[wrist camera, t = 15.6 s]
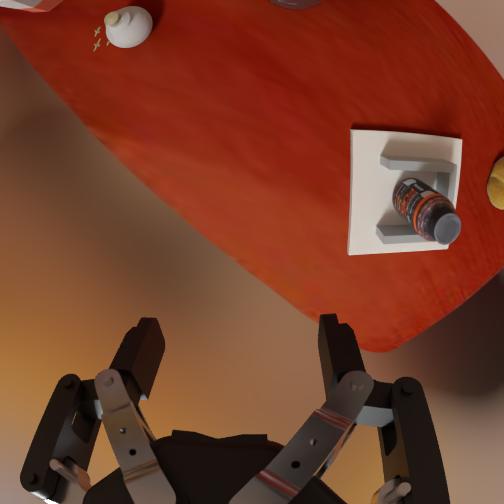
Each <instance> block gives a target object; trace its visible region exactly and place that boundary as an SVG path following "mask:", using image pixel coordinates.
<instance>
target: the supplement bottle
mask: <svg viewBox="0 0 504 504" xmlns="http://www.w3.org/2000/svg"><path fill="white" fill-rule="evenodd" d="M392 202H393V206H394V209H395V210H396V212H397V213H398V214H399V215H400V216H401V217H402V218H403V219H404V220H405V221H406V222H407V223H408V224H409V225H410V226H411V227H412V228H413V229H414V230H415V231H416V232H417V233H418V234H419V235H420V236H421V237H422V238H423V239H425V240H427V241H430V242H436V241H437V242H438V243H439V244H442V245H447V244H450V243H452V242H453V241H454V240H455V239H456V238H457V237H458V235H459V233H460V229H461V221H460V218H459V217H458V215H457V214H456V211H455V208H454V206H453V204H452V202H451V201H450V200H449V199H448V198H446V197H445V196H444V195H442V194H441V193H439V192H438V191H436V190H435V189H433V188H432V187H430V186H428V185H427V184H425V183H424V182H422V181H420V180H418V179H416V178H407V179H404V180H403V181H401V182H400V183H399V184H398V185H397V186H396V188H395V190H394V192H393V197H392Z"/></svg>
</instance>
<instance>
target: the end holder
mask: <svg viewBox="0 0 504 504" xmlns="http://www.w3.org/2000/svg"><path fill="white" fill-rule="evenodd" d="M350 134H351V183H350V214H349V233H348V248H347V253H348V255H359V254H376V253H392V252H409V251H424V250H440V249H448V246H449V244H447V245H442V244H439V243H438V242H437V241H436V242H430V241H427V240H425V239H423V238H422V237H421V236H420V235H419V234H418V233H417V232H416V231H415V230H414V229H413V228H412V227H411V226H410V225H409V224H408V223H407V222H406V221H405V220H404V219H403V218H402V217H401V216H400V215H399V214H398V213H397V212H396V210H395V209H394V206H393V202H392V197H393V192H394V190H395V188H396V186H397V185H398V184H399V183H400V182H401V181H403V180H404V179H407V178H416V179H418V180H420V181H422V182H424V183H425V184H427V185H428V186H430V187H432V188H433V189H435V190H436V191H438V192H439V193H441V194H442V195H444V196H445V197H446V198H448V199H449V200H450V201H451V202H452V204H453V206H454V208H456V201H457V194H458V186H459V176H460V166H461V152H462V139H458V138H451V137H444V136H436V135H428V134H418V133H407V132H395V131H379V130H355V129H350Z"/></svg>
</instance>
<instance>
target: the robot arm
mask: <svg viewBox="0 0 504 504" xmlns="http://www.w3.org/2000/svg"><path fill="white" fill-rule="evenodd" d="M269 1H271V2H272V3H274V4H276V5H278V6H281V7H284V8H289V9H306V8H310V7H313V6H315V5H317V4H319V3H320V2H321V1H322V0H269ZM318 349H319V356H320V361H321V368H322V374H323V381H324V387H325V393H326V402H325V403H324V404H323V406H322V407H321V408H320V409H319V410H318V409H317V410H315V411H314V412H313V413H312V415H311V416H310V417H309V418H308V419H307V421H306V422H305V423H304V425H303V426H302V427H301V428H300V429H299V430H298V432H297V433H296V434H295V435H294V437H293V438H292V439H291V440H290V441H289V442H288V444H287V445H286V446H283V445H281V444H279V443H277V442H273V441H269V440H268V439H267V434H256V435H255V434H254V435H253V434H251V435H250V434H243V435H237V436H232V437H226V438H220V439H217V438H213V437H209V436H206V435H203V434H200V433H197V432H190V431H180V430H173V431H172V435H171V436H167V437H163V438H160V439H156V438H155V436H154V435H153V433H152V431H151V429H150V427H149V425H148V423H147V421H146V419H145V417H144V415H143V413H142V411H141V409H140V407H139V405H138V403H139V400H140V399H141V400H148V398H149V395H150V392H151V389H152V386H153V383H154V380H155V377H156V374H157V371H158V368H159V365H160V362H161V359H162V357H163V353H164V351H165V340H164V337H163V334H162V331H161V328H160V325H159V322H158V320H157V318H145V317H144V318H143V317H142V318H141V319H140V321H139V323H138V325H137V327H132V328H131V329H130V330H129V331H128V332H127V333H126V335H125V337H124V339H123V342H122V343H121V345H120V348H119V349H118V351H117V353H116V355H115V357H114V359H113V361H112V363H111V365H110V367H109V369H106V370H103V371H101V372H100V373H99V374H98V375H97V376H96V377H95V379H90V380H83V381H81V380H80V378H79V377H78V376H77V375H75V374H67V375H65V376H63V377H62V378H61V379H60V380H59V382H58V384H57V386H56V388H55V390H54V392H53V394H52V396H51V398H50V401H49V403H48V405H47V407H46V410H45V412H44V414H43V416H42V419H41V421H40V424H39V426H38V428H37V431H36V433H35V436H34V438H33V441H32V443H31V446H30V448H29V451H28V454H27V457H26V460H25V462H24V465H23V468H22V471H21V474H20V482H21V484H22V486H23V488H24V489H26V490H27V491H28V492H30V493H32V494H33V495H35V496H36V497H38V498H39V499H41V500H42V501H44V502H46V503H48V504H347V503H346V502H345V501H344V500H342V499H341V498H340V497H339V496H338V495H337V494H336V493H335V492H334V491H333V490H331V489H330V488H329V487H328V486H327V485H326V484H325V483H324V482H323V481H322V480H321V478H322V477H323V476H324V474H325V473H326V472H327V470H328V469H329V468H330V466H331V464H332V463H333V462H334V460H335V459H336V457H337V455H338V454H339V452H340V451H341V449H342V448H343V446H344V444H345V443H346V442H347V440H348V439H349V437H350V436H351V434H352V432H353V431H354V429H355V428H356V426H357V424H361V425H369V426H376V427H377V428H378V435H379V441H380V448H381V456H382V462H383V472H384V480H385V484H384V485H383V486H382V487H381V488H379V489H378V490H377V491H376V492H375V493H374V495H373V496H372V499H371V504H450V499H449V493H448V487H447V481H446V476H445V471H444V467H443V462H442V458H441V453H440V449H439V445H438V441H437V437H436V433H435V429H434V425H433V422H432V418H431V415H430V411H429V408H428V404H427V401H426V398H425V394H424V391H423V388H422V386H421V384H420V383H419V381H417V380H416V379H414V378H411V377H402V378H399V379H398V380H396V381H395V382H394V384H392V383H384V382H378V381H376V380H373V379H372V377H371V376H370V375H369V374H367V373H366V370H365V367H364V364H363V360H362V357H361V354H360V350H359V347H358V344H357V340H356V337H355V334H354V331H353V329H352V328H351V327H350V326H349V325H348V324H347V323H343V324H339V323H338V319H337V315H336V314H335V313H334V314H321V315H320V320H319V332H318ZM75 413H76V416H75ZM74 416H75V419H74ZM73 419H74V421H73ZM72 422H73V424H72ZM101 422H103V424H104V427H105V430H106V433H107V435H108V438H109V441H110V444H111V446H112V449H113V451H114V454H115V456H116V459H117V461H118V463H119V466H120V467H119V468H117V469H116V470H115V471H113V472H112V473H110V474H109V475H108V476H106V477H105V478H104V479H102V480H101V481H99V482H98V483H96V484H95V485H93V486H91V484H90V477H89V475H88V473H87V469H88V465H89V462H90V458H91V455H92V451H93V448H94V444H95V441H96V438H97V435H98V432H99V428H100V425H101Z"/></svg>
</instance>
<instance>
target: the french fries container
mask: <svg viewBox="0 0 504 504" xmlns="http://www.w3.org/2000/svg"><path fill="white" fill-rule="evenodd" d="M62 1H63V0H0V6H2V7H9V8H15V9H21V10H26V11H31V12H49V11H50V10H52V9H53V8H54V7H55V6H57V5H58V4H59V3H61V2H62Z"/></svg>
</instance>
